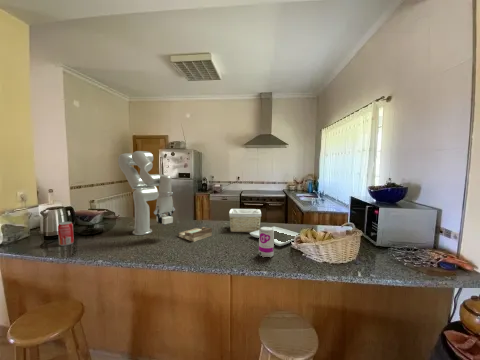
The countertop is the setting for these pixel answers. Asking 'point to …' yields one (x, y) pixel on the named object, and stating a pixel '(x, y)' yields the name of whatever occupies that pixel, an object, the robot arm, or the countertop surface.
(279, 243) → the square plate
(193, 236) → the dock
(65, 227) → the soda can
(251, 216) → the storage basket
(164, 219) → the cream rod-topped slab
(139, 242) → the countertop surface
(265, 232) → the supplement can
